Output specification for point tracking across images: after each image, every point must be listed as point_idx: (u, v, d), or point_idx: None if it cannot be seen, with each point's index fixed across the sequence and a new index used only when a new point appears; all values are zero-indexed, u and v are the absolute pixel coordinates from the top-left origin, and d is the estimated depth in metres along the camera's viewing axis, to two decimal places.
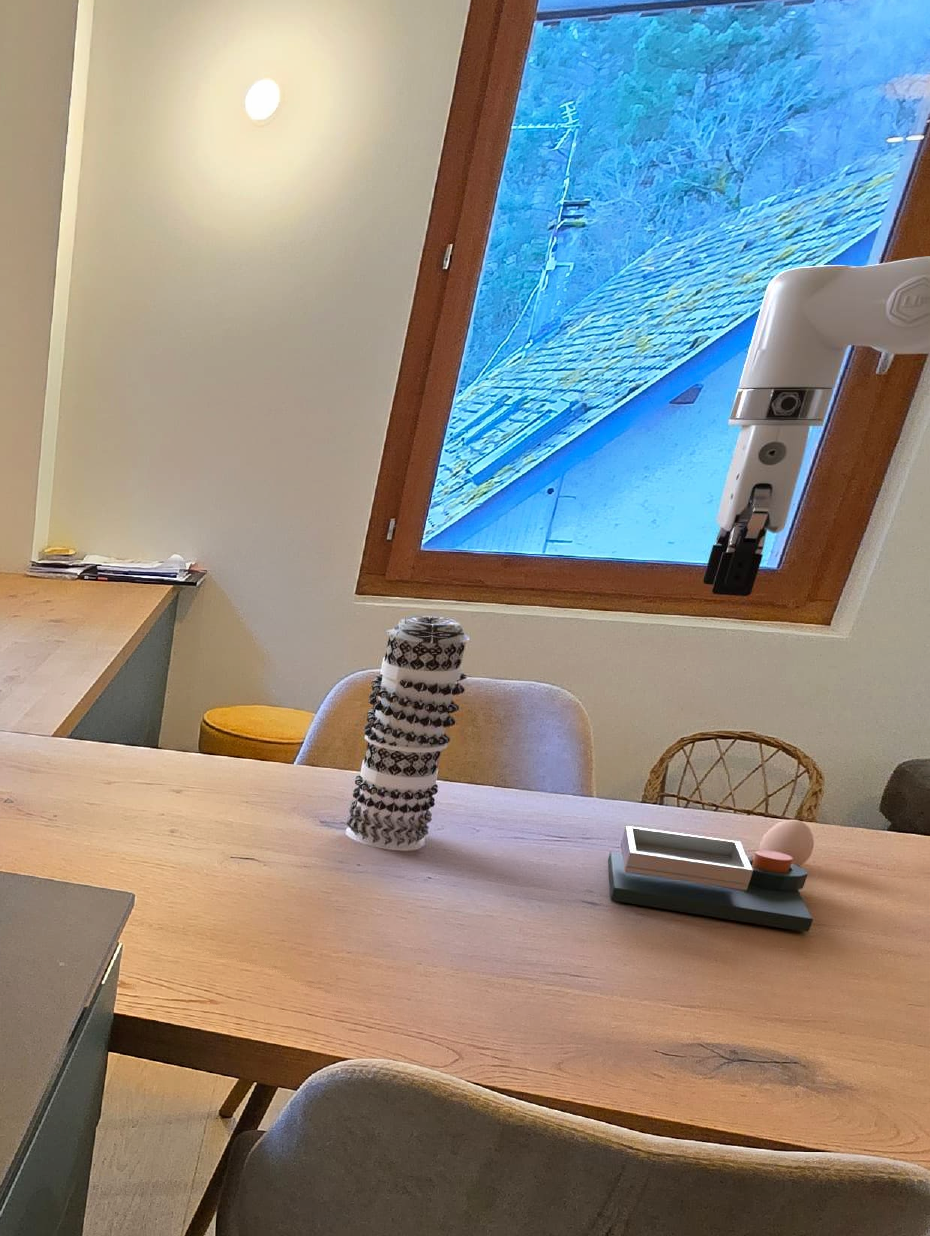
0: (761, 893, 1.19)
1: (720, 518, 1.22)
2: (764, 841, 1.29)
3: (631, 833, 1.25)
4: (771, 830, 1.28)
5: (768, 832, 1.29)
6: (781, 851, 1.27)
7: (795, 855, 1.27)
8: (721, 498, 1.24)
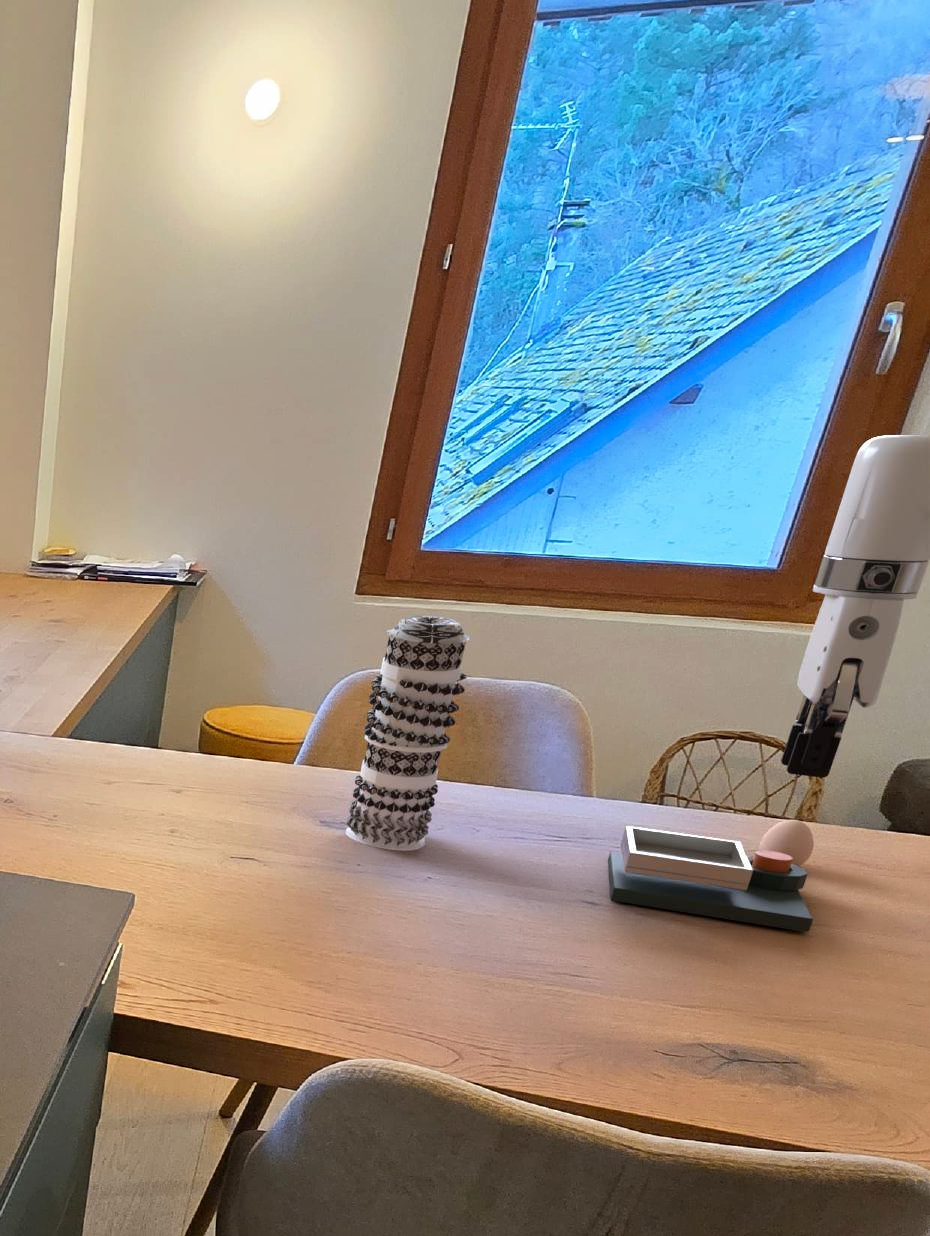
0: (761, 893, 1.19)
1: (803, 685, 1.16)
2: (764, 841, 1.29)
3: (631, 833, 1.25)
4: (771, 830, 1.28)
5: (768, 832, 1.29)
6: (781, 851, 1.27)
7: (795, 855, 1.27)
8: (803, 661, 1.18)
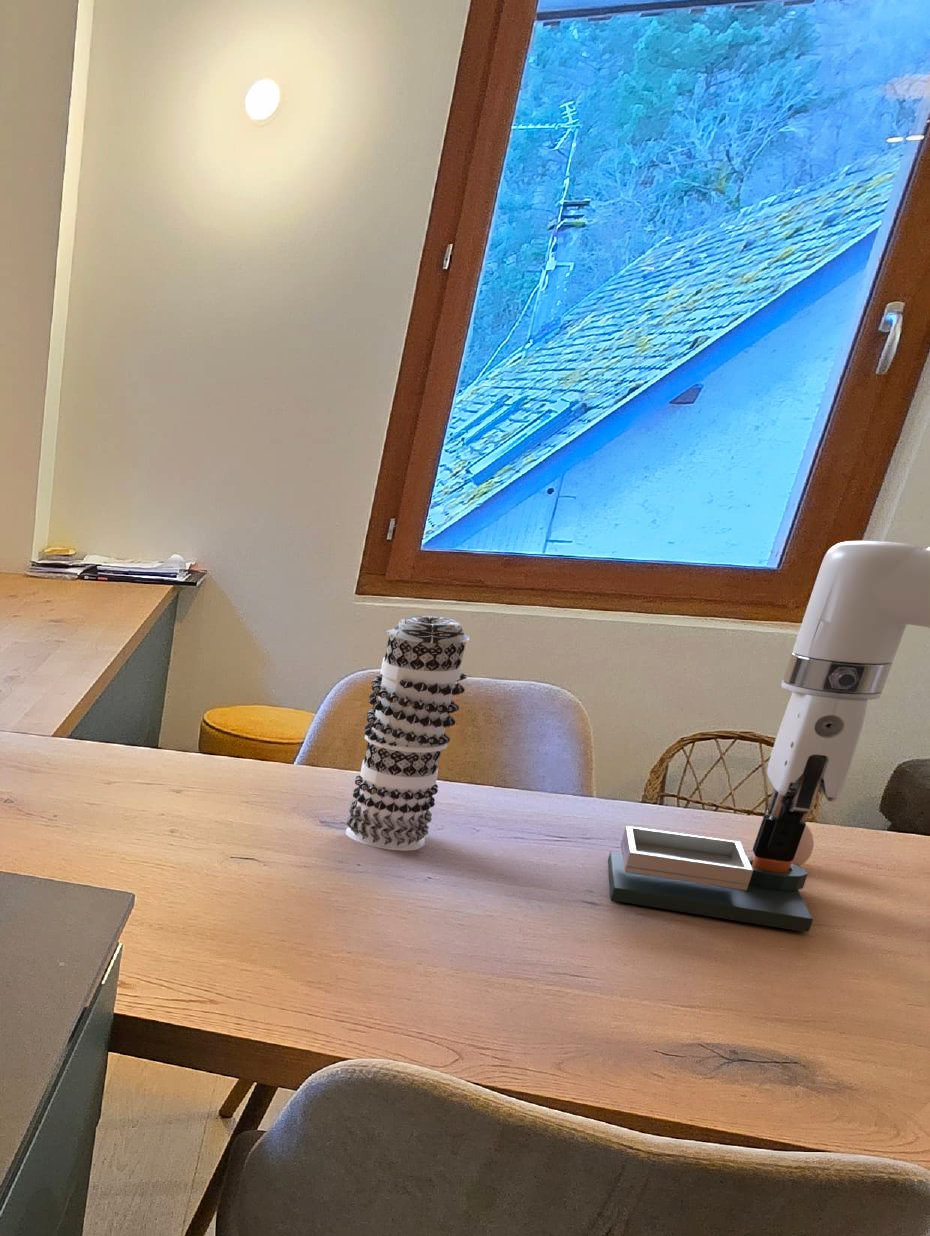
0: (761, 893, 1.19)
1: (772, 776, 1.19)
2: None
3: (631, 833, 1.25)
4: None
5: None
6: None
7: (795, 855, 1.27)
8: (772, 751, 1.21)
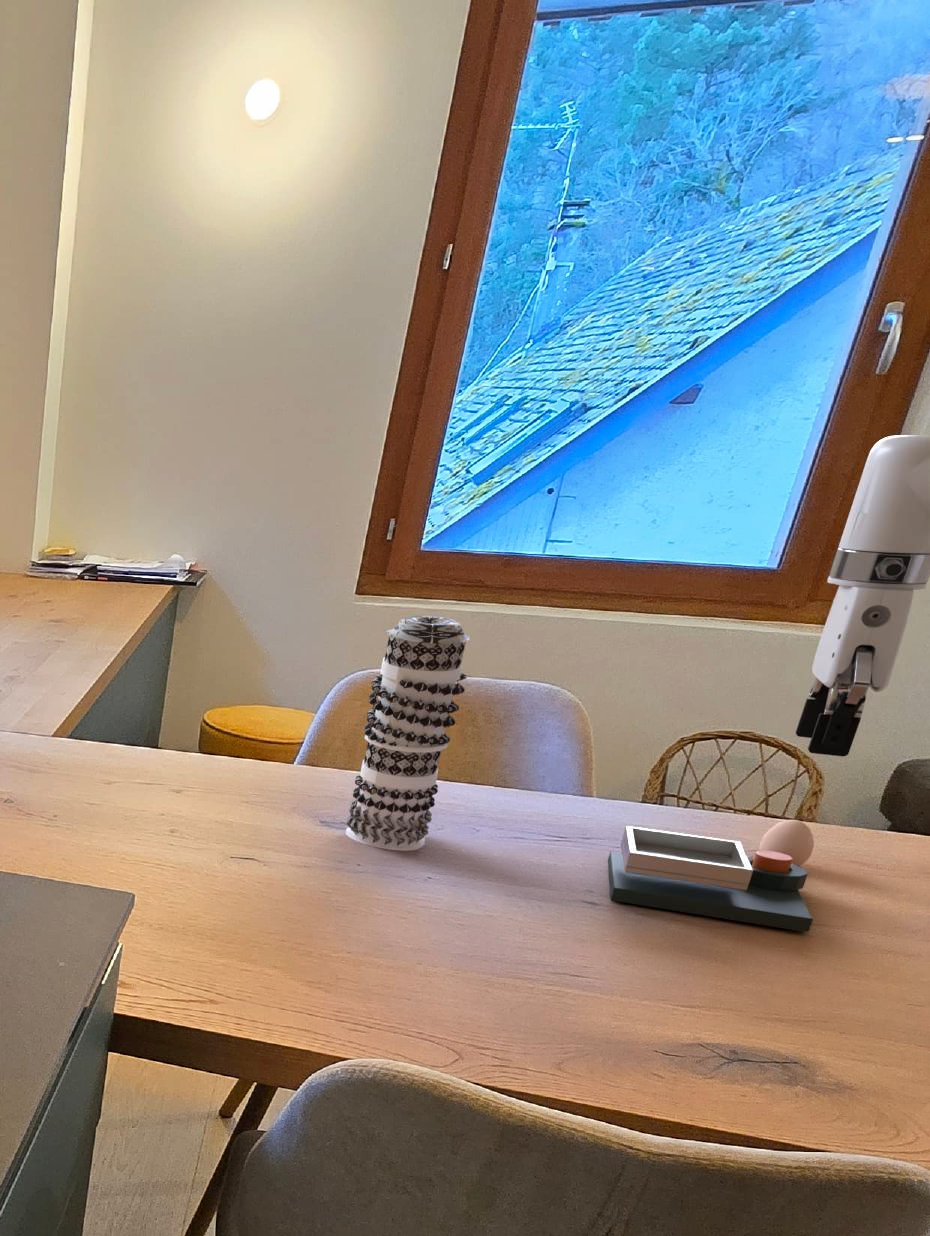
0: (761, 893, 1.19)
1: (818, 671, 1.22)
2: (764, 841, 1.29)
3: (631, 833, 1.25)
4: (771, 830, 1.28)
5: (768, 832, 1.29)
6: (781, 851, 1.27)
7: (795, 855, 1.27)
8: (817, 649, 1.24)
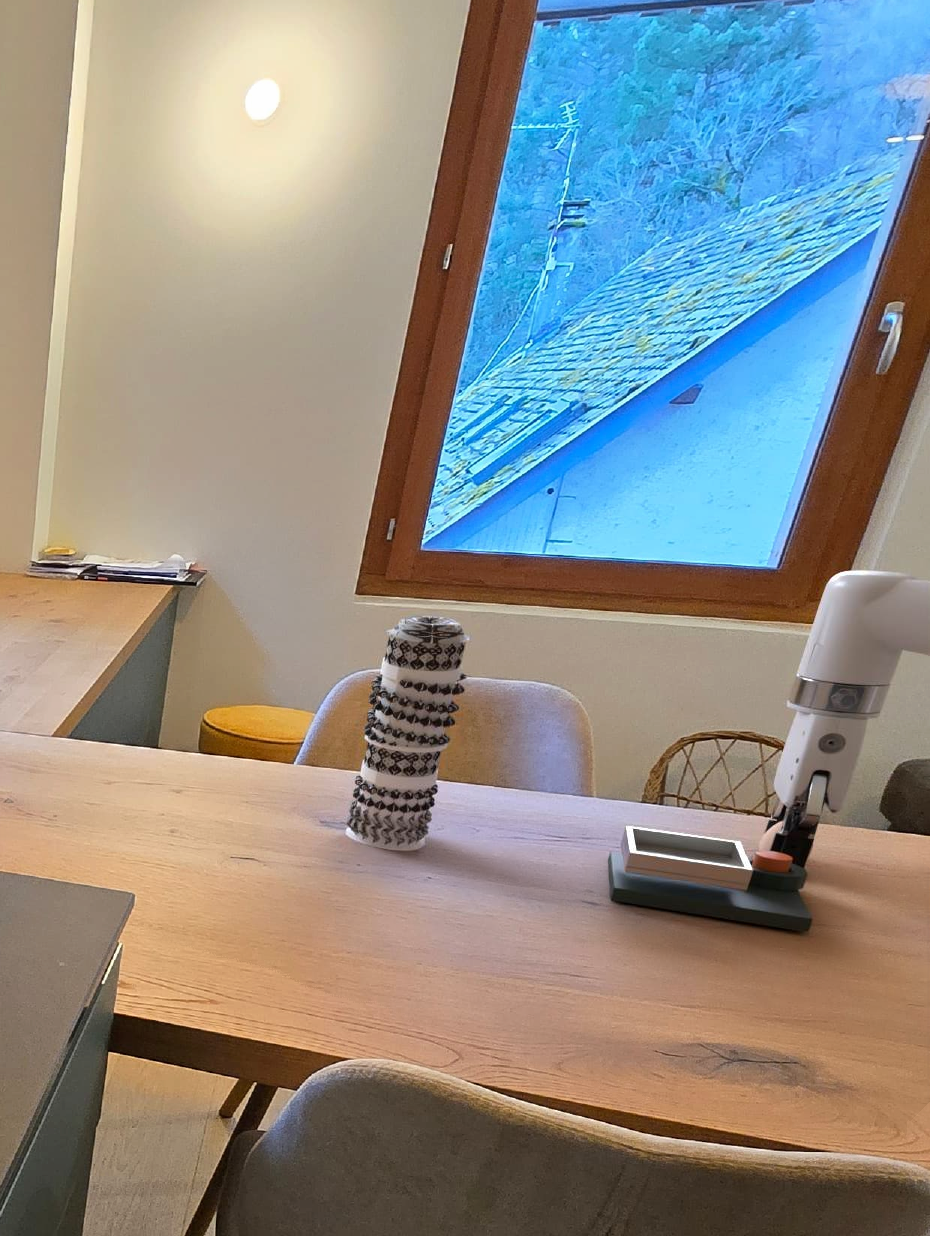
0: (761, 893, 1.19)
1: (778, 789, 1.27)
2: (763, 841, 1.29)
3: (631, 833, 1.25)
4: (771, 830, 1.28)
5: (768, 832, 1.29)
6: None
7: None
8: (778, 766, 1.29)
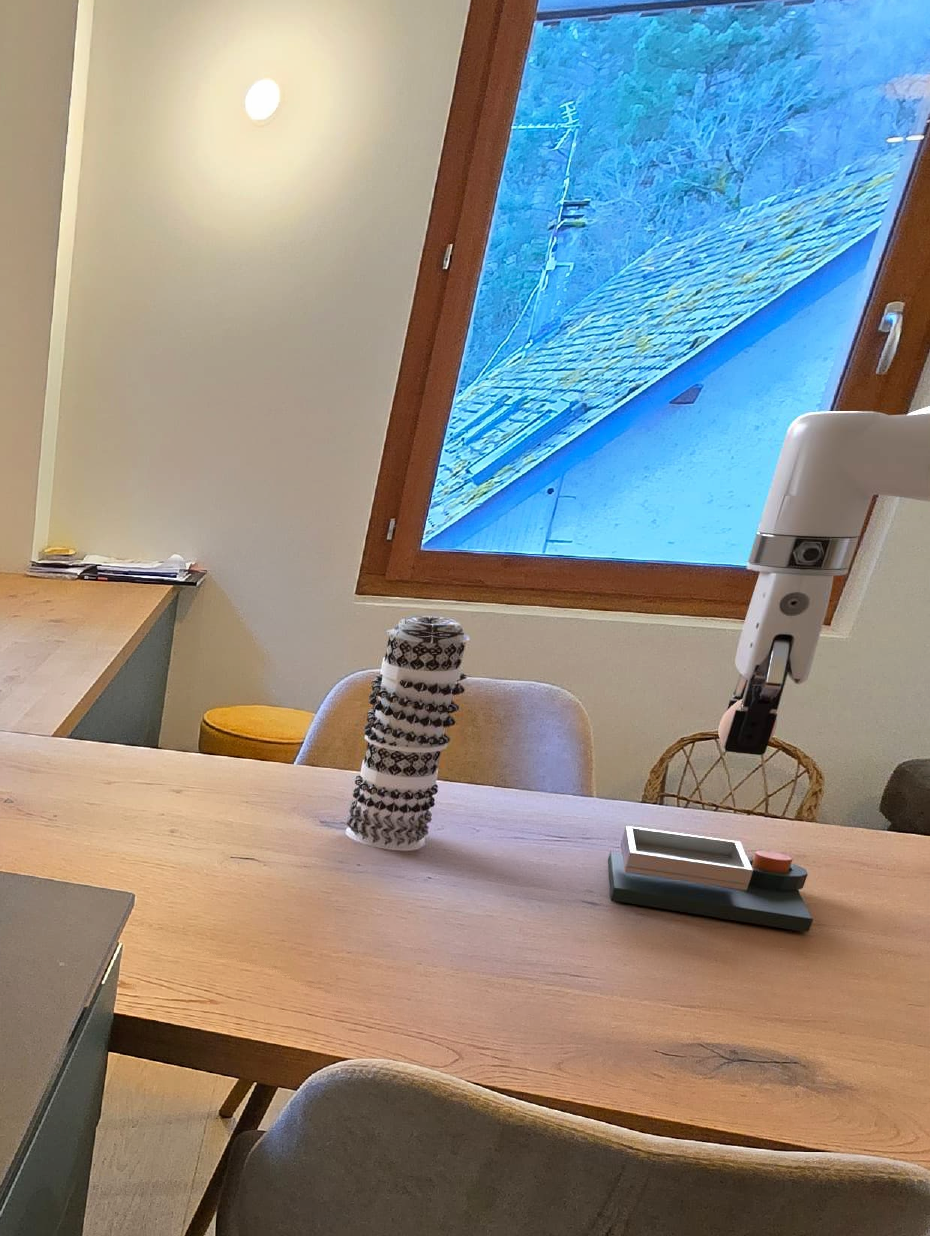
0: (761, 893, 1.19)
1: (739, 663, 1.16)
2: (722, 721, 1.18)
3: (631, 833, 1.25)
4: (730, 708, 1.17)
5: (727, 711, 1.18)
6: None
7: None
8: None
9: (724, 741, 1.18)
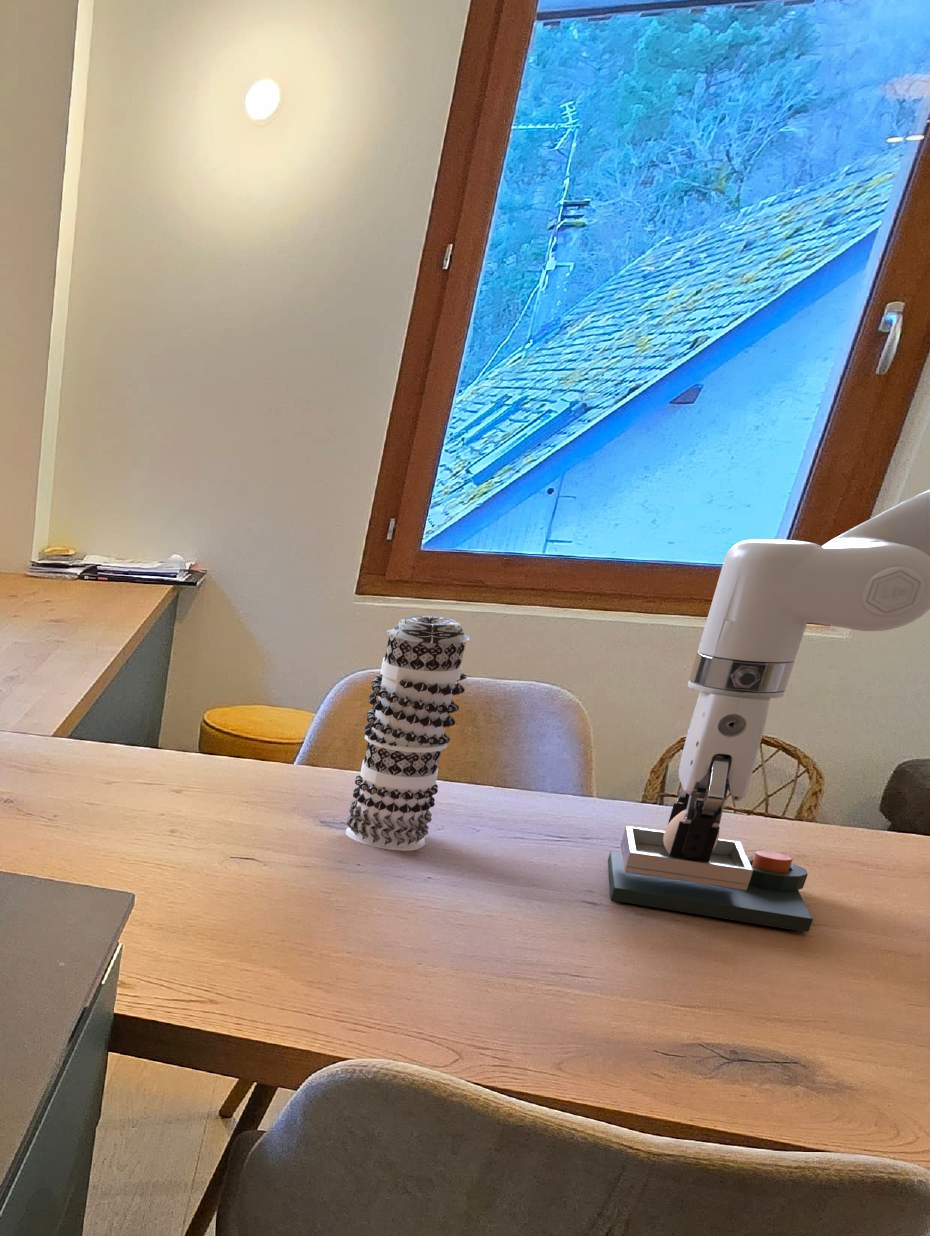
0: (761, 893, 1.19)
1: (681, 775, 1.19)
2: (667, 830, 1.20)
3: (631, 833, 1.25)
4: (675, 818, 1.20)
5: (672, 820, 1.20)
6: None
7: None
8: None
9: (669, 850, 1.21)
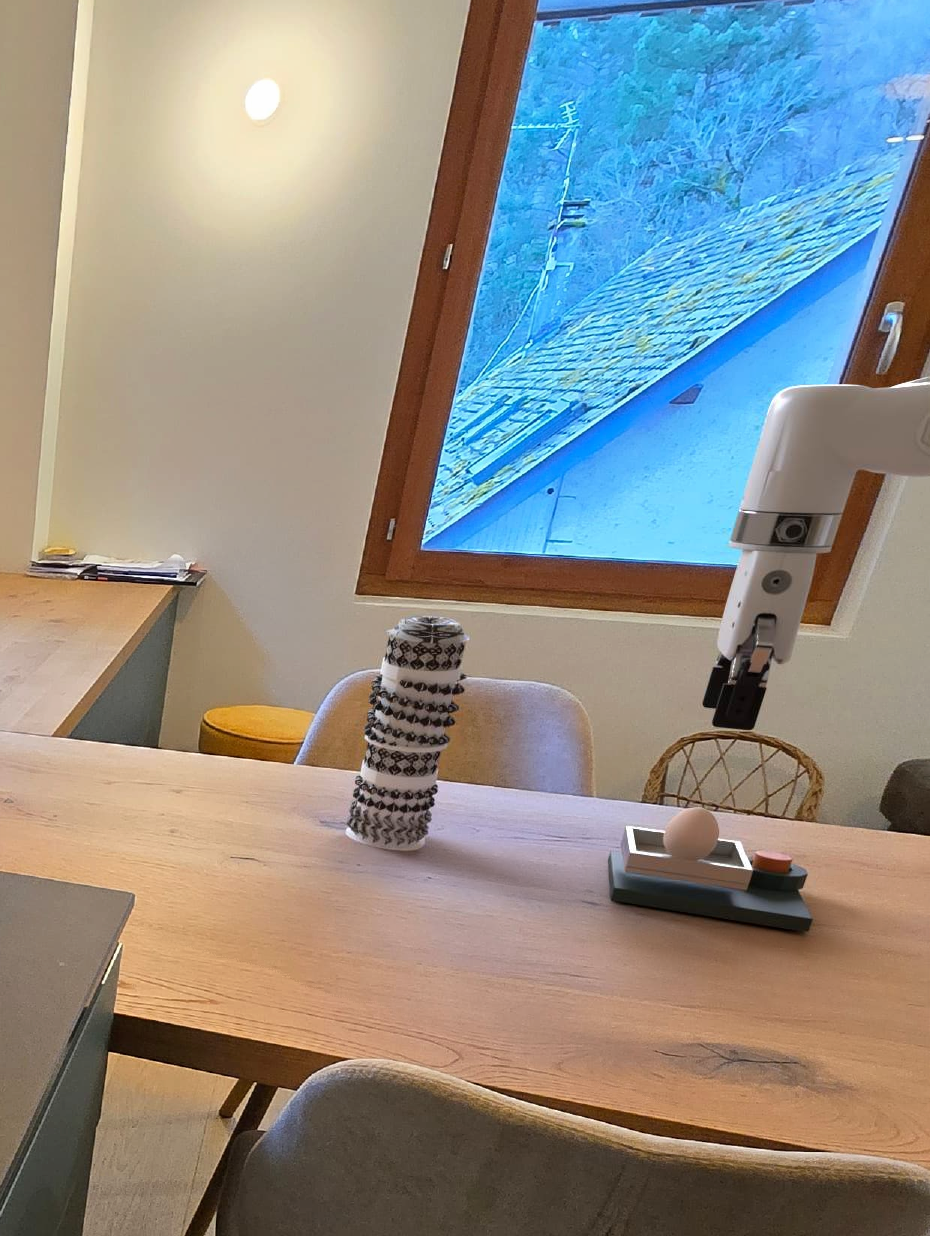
0: (761, 893, 1.19)
1: (720, 643, 1.14)
2: (667, 830, 1.20)
3: (631, 833, 1.25)
4: (675, 818, 1.20)
5: (672, 821, 1.20)
6: (684, 841, 1.19)
7: (698, 845, 1.18)
8: None
9: (669, 850, 1.21)
